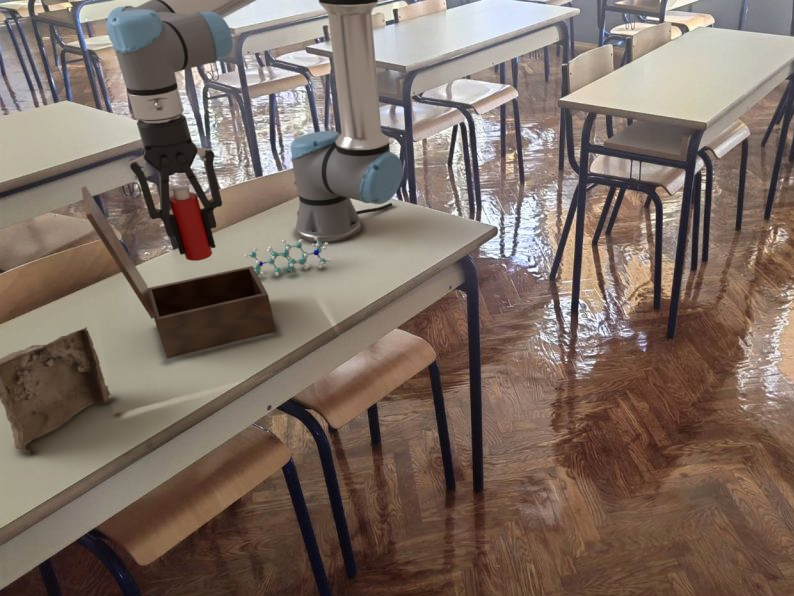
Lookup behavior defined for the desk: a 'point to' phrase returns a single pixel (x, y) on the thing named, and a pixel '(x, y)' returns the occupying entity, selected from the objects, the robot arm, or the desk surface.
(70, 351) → the mineral sample
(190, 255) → the bottle
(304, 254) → the molecule model
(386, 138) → the robot arm
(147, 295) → the lid
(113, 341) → the desk surface
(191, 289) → the storage box
